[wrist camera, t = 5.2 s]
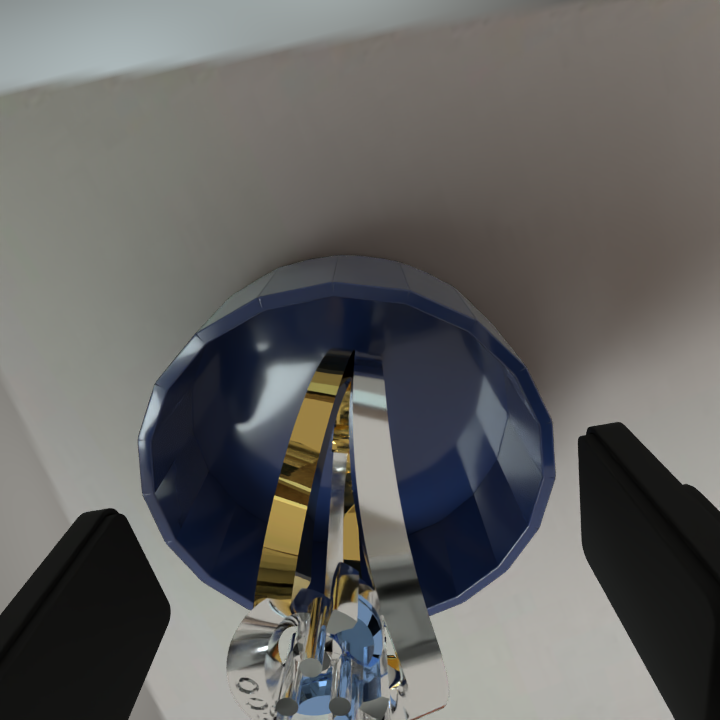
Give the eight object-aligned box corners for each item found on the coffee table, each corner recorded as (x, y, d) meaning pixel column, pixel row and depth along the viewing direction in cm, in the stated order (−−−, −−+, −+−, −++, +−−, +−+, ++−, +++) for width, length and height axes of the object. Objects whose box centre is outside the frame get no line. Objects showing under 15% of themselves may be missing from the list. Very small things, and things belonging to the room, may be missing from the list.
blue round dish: (241, 566, 16) (216, 652, 13) (132, 296, 12) (66, 336, 10) (526, 520, 15) (563, 601, 12) (498, 218, 12) (542, 238, 9)
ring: (300, 298, 12) (209, 516, 5) (426, 311, 12) (525, 545, 5) (286, 515, 15) (213, 870, 7) (389, 525, 15) (418, 881, 8)
